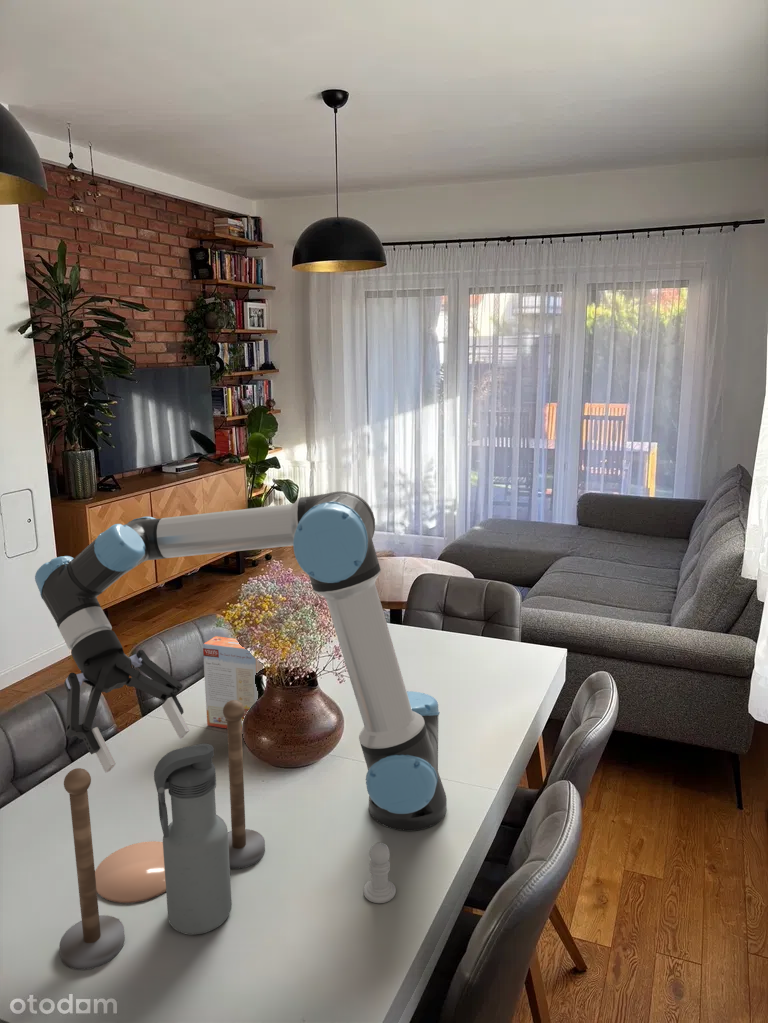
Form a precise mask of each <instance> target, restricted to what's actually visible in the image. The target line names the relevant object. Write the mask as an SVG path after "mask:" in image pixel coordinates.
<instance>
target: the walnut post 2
mask: <svg viewBox="0 0 768 1023" xmlns="http://www.w3.org/2000/svg"><path fill="white" fill-rule="evenodd" d="M223 715H224V717H225V718H226V719H227V728H226V729H227V749H228V750H227V751H228V752H227V754H228V755H227V756H228V773H229V774H228V775H229V776H228V780H229V802H230V823H231V826H230V827H231V828H230V829H231V830H230V831H228V844H229V864H230V870H233V869H234V870H238V869H245V868H248V867H251V866H253V865H255V864H256V863H258V862H259V861H260V860H261V859H262V858H263V856H265V852H266V841H265V837H264V836H263V835H262V834H261V833H260V832H259V831H256V830H254V829H249V828H246V808H245V782H244V780H245V779H244V759H243V758H244V757H243V755H244V754H243V731H242V726H241V718H242V717H243V715H244V706H243V704H242V703H241V702H240V701H238V700H231V701H229V702H227V703H226V704H225V706H224V708H223Z"/></svg>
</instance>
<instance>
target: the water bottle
mask: <svg viewBox="0 0 768 1023" xmlns="http://www.w3.org/2000/svg"><path fill="white" fill-rule="evenodd" d="M214 753H215V752H214V746H213V745H212V744H209V743H199V744H193V745H189V746H185V747H180V748H177V749H176V748H175V749H173V750H171V751H170V752H167V753H166V754H165V755H163V757H161V759H160V760H158V762H157V764H156V766H155V768H154V772H153V775H154V776H153V777H154V778H153V780H154V784H155V787H156V788H155V789H156V792H157V802H158V815H159V816H158V817H159V823H160V826H161V830H162V835H163V836H162V842H163V853H164V867H165V881H166V892H165V894H166V907H167V908H166V910H167V918H168V922H169V924H170V926H171V927H172V928H173V929H174V930H175V931H177V932H179V933H181V934H184V935H185V934H186V935H193V936H194V935H202V934H206V933H208V932H211V931H213V930H215V929H217V928H218V927H220V926H221V925H223V923H224V922H226V920H227V919H228V917H229V916H230V913H231V911H232V904H233V903H232V885H231V884H232V883H231V869H230V864H229V844H228V832H229V831H228V825H227V824H226V821H225V820H224V819H222V817H221V816H219V815H218V814H217V808H216V807H217V806H216V805H217V804H216V788H217V775H216V773H217V772H216V766H215V764H214V763H213V757H214V755H215V754H214ZM166 790H168V794H169V795H170V804H171V806H170V807H171V818H172V819H171V820H172V821H171V822H170V823H169V817H168V808H167V804H166Z"/></svg>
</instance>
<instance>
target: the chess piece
mask: <svg viewBox="0 0 768 1023" xmlns="http://www.w3.org/2000/svg"><path fill="white" fill-rule="evenodd" d="M390 854H391V853H390V848H389V847H388V845H387V844H386V843H383V842H376V843H374V844H372V845H371V847H370V850H369V859H370V861H369V863H368V864H369V868H368V869H369V872H370V873H371V879H370V880H368V881H367V882H366V883H365V884H364V886H363V888H362V891H363V892H362V893H363V895H364V897H365V898H366V900H368V901H370V902H372V903H374V904H384V903H388V902H390V901H391V900H393V899H394V897H395V896H396V892H397V889H396V886H395V884H394V883H393V882H392V881H391V880H389V876H388V875H389V872H390V870H391V867H390V865H391V862H390V856H391V855H390Z"/></svg>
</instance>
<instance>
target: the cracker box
mask: <svg viewBox="0 0 768 1023" xmlns="http://www.w3.org/2000/svg"><path fill="white" fill-rule="evenodd" d="M236 639H237V638H231V637H224V636H218V635H216V636H213V637H212V638H210V639H209V640H207V641H205V642H204V643H203V644H202V652H203V670H204V671H203V672H204V673H203V674H204V675H203V676H204V692H205V693H204V694H205V704H206V706H205V709H206V724H207V726H209V727H216V728H222V729H227V719H226V718H225V717H224V715H223V708H224V706H225V704H226V703H227V702H229V701H231V700H238V701H240V702H241V703H242V704H243V706H244V715H243V717H242V718H241V726H242V721H243V719H244V716H245V715H246V713H247V711H248V710H249V709H250V707H251V706H252V705H253V704H254V703H255V702H256V701H257V699H258V691H257V687H256V684H255V675H256V673H258V672H259V671H260V670H262V669H263V665H262V664H260V663H259V662H258V661H257V660H256V659H255V658H254V657H253V656H252V655H251V653H250V651H248V650H246V649H245V648H244V647H242V646H241V645H240V644H239V642H238V641H237V640H236Z"/></svg>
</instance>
